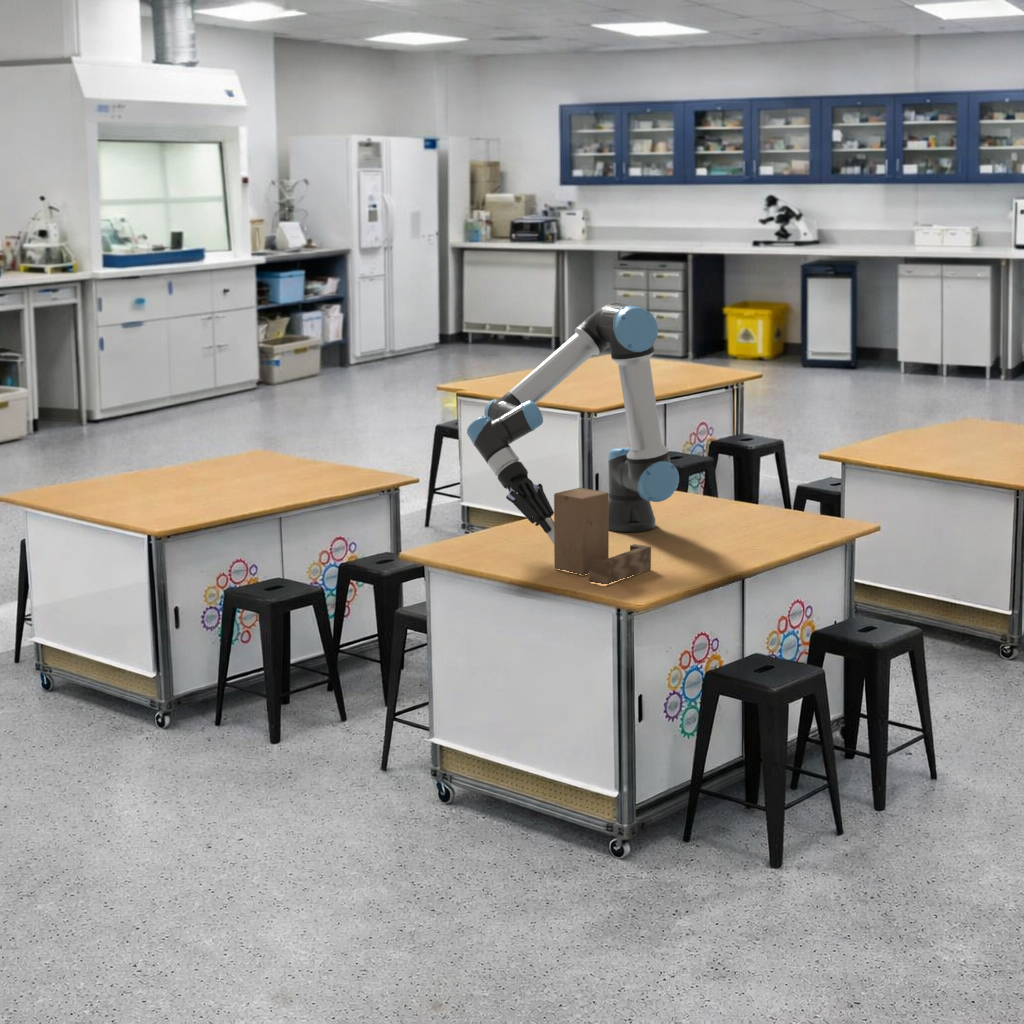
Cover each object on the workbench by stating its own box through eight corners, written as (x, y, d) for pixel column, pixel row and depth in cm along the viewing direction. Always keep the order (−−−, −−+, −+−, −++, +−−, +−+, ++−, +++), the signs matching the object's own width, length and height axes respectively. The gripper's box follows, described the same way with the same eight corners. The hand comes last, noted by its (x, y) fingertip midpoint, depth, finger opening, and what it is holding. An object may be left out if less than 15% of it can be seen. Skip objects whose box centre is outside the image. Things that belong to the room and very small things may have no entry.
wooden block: (583, 576, 360) (582, 498, 355) (553, 570, 367) (553, 493, 362) (609, 569, 367) (609, 492, 362) (580, 562, 373) (579, 487, 369)
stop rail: (634, 566, 369) (634, 544, 368) (650, 569, 366) (651, 546, 364) (589, 583, 354) (589, 559, 352) (605, 586, 350) (605, 562, 349)
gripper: (516, 473, 382) (566, 544, 376) (484, 481, 372) (535, 554, 366) (532, 456, 378) (582, 527, 371) (500, 463, 368) (551, 537, 361)
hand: (559, 540), depth 368 cm, fingers closed
